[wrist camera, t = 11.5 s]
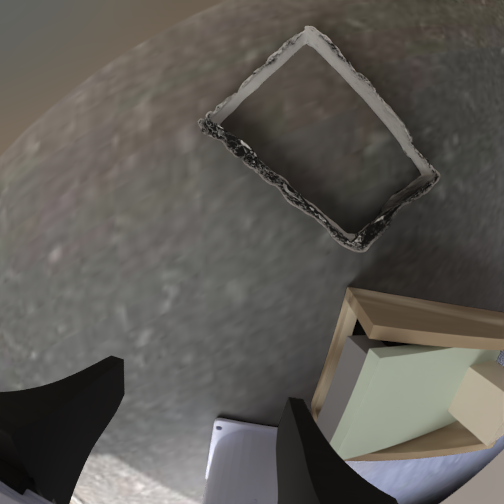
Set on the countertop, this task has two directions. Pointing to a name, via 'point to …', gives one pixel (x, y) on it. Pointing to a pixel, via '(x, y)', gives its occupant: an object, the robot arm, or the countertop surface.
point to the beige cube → (481, 401)
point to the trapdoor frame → (415, 332)
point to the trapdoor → (392, 393)
